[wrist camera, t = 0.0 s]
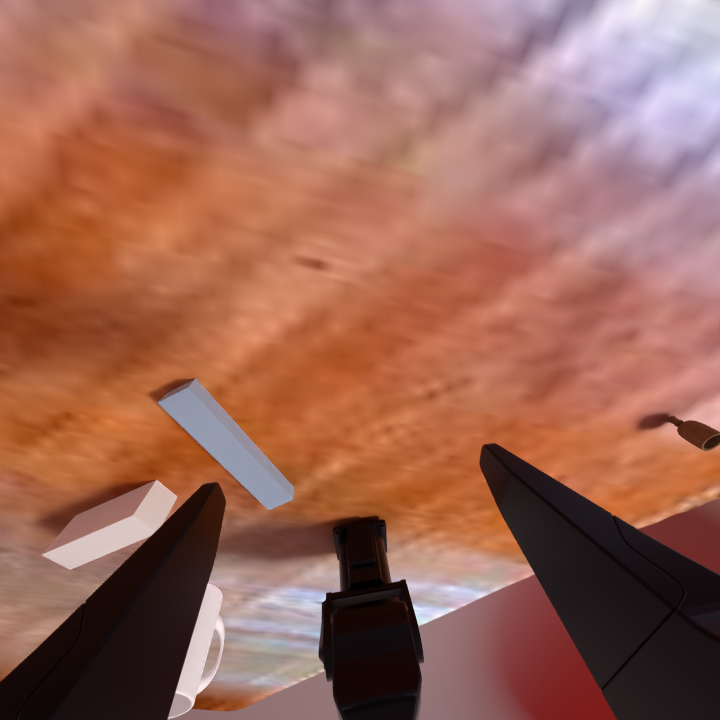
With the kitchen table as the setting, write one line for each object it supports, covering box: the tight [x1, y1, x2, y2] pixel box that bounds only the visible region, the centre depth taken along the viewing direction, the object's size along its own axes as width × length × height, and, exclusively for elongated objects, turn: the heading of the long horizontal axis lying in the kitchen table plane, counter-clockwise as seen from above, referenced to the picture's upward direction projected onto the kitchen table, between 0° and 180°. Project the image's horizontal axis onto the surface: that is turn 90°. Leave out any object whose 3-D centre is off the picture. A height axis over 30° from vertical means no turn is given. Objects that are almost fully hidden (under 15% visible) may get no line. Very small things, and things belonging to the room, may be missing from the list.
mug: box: [168, 583, 224, 719], centre depth 34 cm, size 9×12×11 cm
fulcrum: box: [42, 480, 177, 570], centre depth 28 cm, size 11×12×5 cm
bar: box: [157, 379, 294, 510], centre depth 27 cm, size 16×3×3 cm, turn 25°
